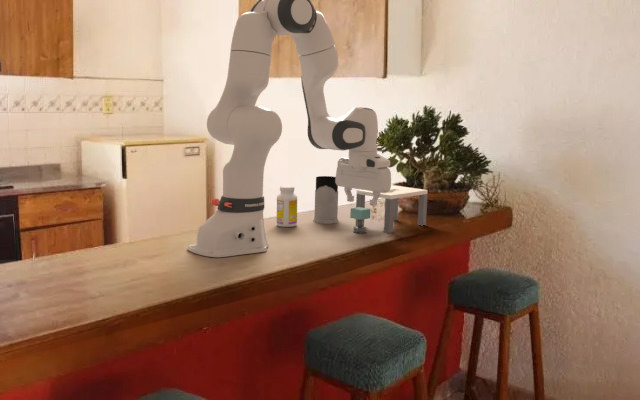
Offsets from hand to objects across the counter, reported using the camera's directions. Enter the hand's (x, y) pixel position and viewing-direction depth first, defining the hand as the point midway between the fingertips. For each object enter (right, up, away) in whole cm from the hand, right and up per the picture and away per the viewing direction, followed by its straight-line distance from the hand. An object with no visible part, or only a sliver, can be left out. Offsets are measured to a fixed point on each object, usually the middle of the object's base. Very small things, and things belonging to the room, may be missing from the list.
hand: (361, 203), depth 208 cm
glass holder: (-11, -6, +20) cm, 24 cm away
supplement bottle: (-24, -8, +8) cm, 26 cm away
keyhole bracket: (+11, -8, +12) cm, 18 cm away
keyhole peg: (-1, -9, +1) cm, 9 cm away
